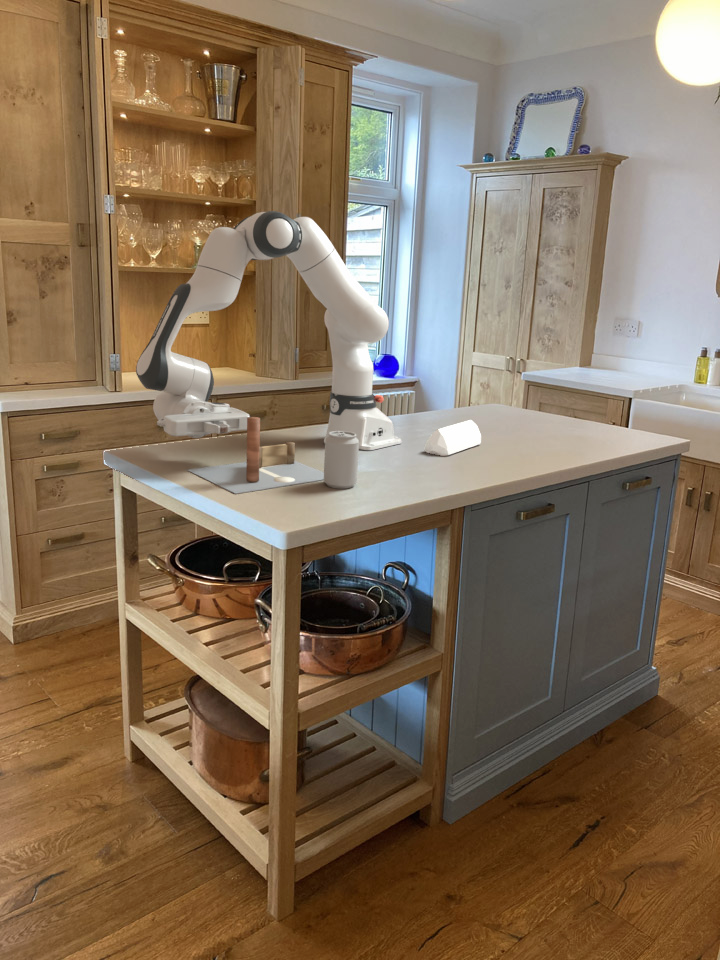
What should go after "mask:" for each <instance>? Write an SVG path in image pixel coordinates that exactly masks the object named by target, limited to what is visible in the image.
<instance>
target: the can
mask: <svg viewBox="0 0 720 960" xmlns="http://www.w3.org/2000/svg"><path fill="white" fill-rule="evenodd" d="M328 434H329V436H328V437H327V438H326V439H325V438H324V439H325V443H324V459H323V460H324V461H323V462H324V463H323V472H324V480H323V483H324V484H326V486H328V487H330V488H332V489H339V490H340V489H343V490H344V489H350V488H353V487H354V486H355V485H356V484H357V483H358V465H359V464H358V463H359V450H360V449H359V440H358V439H357V438H356V434H355V433H353V432H348V431H332V432H329V433H328Z"/></svg>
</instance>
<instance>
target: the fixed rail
mask: <svg viewBox="0 0 720 960" xmlns="http://www.w3.org/2000/svg"><path fill="white" fill-rule="evenodd" d="M295 445H296V443H295V442H294V441H293V442H292V441H286V442H284V443H283V444H275V445H264V446H260V454H259V469H260V468H261V466H270V465H277V464H284V463H285V464H294V461H295V453H296V452H295V451H296V450H295V449H296V448H295V447H296V446H295Z"/></svg>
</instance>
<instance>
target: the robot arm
mask: <svg viewBox="0 0 720 960" xmlns="http://www.w3.org/2000/svg"><path fill="white" fill-rule="evenodd" d="M199 255H200V256H199V258H198V261H197V265H196V268H195V270H194V273H193V274H192V276H191V277H190V278H189V280H188V281H186V282H185V283H181V284H179V285H178V286H177V288H176V289H175V290H174V291H173V293H172V294H171V297H170V298H169V300H168V302H167V304H166V307H165V308H164V311H163V313H162V315H161V316H160V319H159V321H158V323H157V325H156V327H155V329H154V330H153V334H152V335H151V338H150V339H149V342H148V344H146V346H145V348H144V349H143V351H142V353H141V354H140V355H139V358H138V360H137V362H136V366H135V374H136V376H137V378H138V380H139V382H140V383H141V384H142V386H143V387H144V388H145V389H148V390H153V391H158V392H161V393H159V394H158V395H156V397H155V399H154V401H153V403H152V404H153V405H152V406H153V407H152V408H153V412H154V415H155V417H156V418H157V421H156V425H157V426H159V427H163V431H164V432H165V433H166V434H167V435H169V436H171V437H184V436H185V437H186V436H188V437H190V438H194V439H199V438H203V437H204V436H207V435H211V434H216V435H217V434H218V435H220V434H229V433H230V432H237V431H247V418H248V417H251V416H250V414H249V413H247V412H245V411H244V410H241V409H238V408H236V407H232V406H231V407H230V404H229V403H226V402H224V403H223V402H212V401H210V402H209V400H210V397H211V396H212V394H213V393H212V392H213V389H214V386H215V385H214V384H215V378H214V375H213V371H212V369H211V366H210V365H209V363H207V362H205V361H203V360H200V359H197V358H193V357H189V356H186V355H182V354H180V353H176V352H173V351H172V346H173V344H174V343H175V341H176V339H177V335H178V334H179V331H180V329H181V327H182V325H183V323H184V321H185V320H186V318H188V317H189V316H190V315H192V314H196V313H198V312H199V313H200V312H214V311H215V312H216V311H220V310H221V311H222V310H223V309H226V308H227V307H229V306H230V305H232V303H234V302H235V300H236V298H237V296H238V294H239V290H240V288H241V285H242V284H241V283H242V280H243V277H244V273H245V270H246V267H247V265H248V263H249V262H250V261H269V260H273V259H275V258H277V259H278V258H280V257H284V256H286V257H287V258H288V259H289V260H290V261H291V262H292V264H293V266H294V267H295V268H296V270H297V272H298V273H299V275H300V277H301V278H302V280H303V281H304V283H305V284H306V286H307V287H308V289H309V290H310V292H311V293H312V295H313V296H314V297H315V298H316V300H318V302H320V304H322V305H323V306H324V308H326V310H325V313H324V325H325V327H326V329H327V333H328V341H329V346H330V352H331V363H332V375H331V376H332V378H331V379H332V380H331V391H330V394H329V411H330V412H329V419H328V424H327V429H326V433H325V435H324V440H323V443H324V444H325V439H326V438H327V437H328V436H329V434H328V433H329V432H332V431H348V432H353V433H355V434H356V438H357V439H358V440H359V450H362V451H373V450H378V449H383V448H387V447H392V446H396V445H399V444H402V438H400V437H398V436H396V435H395V433H394V429H395V428H394V424H393V420H391V419H390V417H388V416H387V415H386V414H385V413H384V412H382V411H381V410H380V409H379V408H378V407H377V403H379V404H381V403H383V402H384V401H385V398H384V397H383V395H379V394H376V395H375V394H374V393H373V381H374V364H373V361H372V359H371V355H370V351H369V345H370V344H374V343H378V342H380V341H381V340H383V338H385V336H386V335H387V333H388V330H389V323H390V322H389V317H388V314H387V313H386V311H385V310H384V309H383V308H382V307H381V306H379V305H378V304H377V303H376V301H374V299H373V298H372V297H371V296H370V294H369V293H368V292H367V290H366V289H365V288H364V287H363V286H362V285H361V284H360V282H359V281H357V279H356V278H355V277H354V276H353V275H352V273H351V272H350V270H349V269H348V267H347V265H346V264H345V263H344V260H343V259H342V257H341V256H340V254H339V253H338V251H337V249H336V248H335V245H334V244H333V243H332V241H331V240H330V239H329V237H328V236H327V234H326V233H325V232H324V231H323V229H322V228H321V227H320V226H319V225H318V224H317V222H316V221H314V219H313V218H311V217H309V216H300V217H299V216H298V217H295V218H294V219H293V218H291V217H289V216H288V215H286V214H285V213H284V212H283V213H282V212H280V211H277V210H270V211H261V212H257V213H254V214H252V215H251V216H246V217H245V218H243V219H241V221H240V222H238V223H237V224H236V225H235V226H234V227H233V228H232V227H227V226H219V227H216V228H214V229H212V230H211V232H210V233H209V235H208V237H207V239H206V241H205V243H204V245H203V247H202V250H201V252H200V254H199Z"/></svg>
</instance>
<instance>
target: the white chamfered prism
mask: <svg viewBox="0 0 720 960" xmlns="http://www.w3.org/2000/svg"><path fill="white" fill-rule="evenodd" d="M481 444H482V434H481V432H480V429H479V427H478V425H477V424H476V423H475V422H474V421H473V420H472V419H469V420H465V421H462V422H458V423H455V424H452V425H447V426H444V427H442V428H439V429H436V430H435V431H433V432H432V433H431V435H429V438H428V439H427V441H426V442H425V445H424V449H423V450H424V451H425V453H427V454H429V453H430V454H431V455H434V454H435V455H436V456H439V455H440V456H439V457H446V456H450V455H453V454H455V453H458V452H461V451H464V450H466V449H469V448H473V447H476V446H479V445H481ZM430 454H429V455H430Z"/></svg>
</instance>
